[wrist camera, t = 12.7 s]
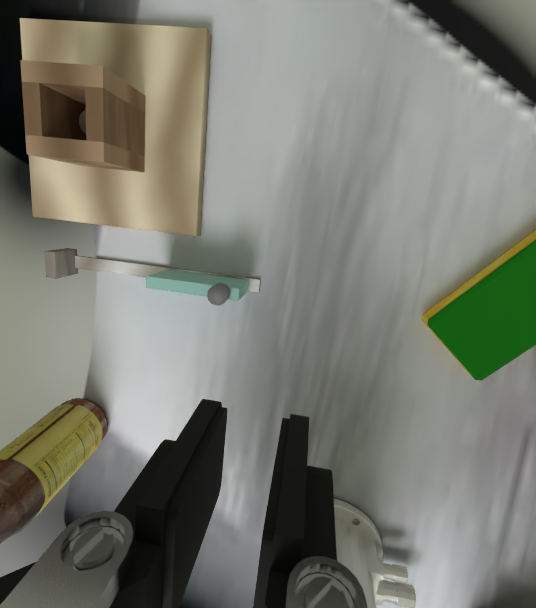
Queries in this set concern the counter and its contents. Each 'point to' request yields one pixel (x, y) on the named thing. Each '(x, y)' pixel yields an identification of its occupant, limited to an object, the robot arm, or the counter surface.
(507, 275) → the dish sponge
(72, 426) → the sauce bottle
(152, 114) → the seat
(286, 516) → the robot arm
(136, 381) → the counter surface
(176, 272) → the bar
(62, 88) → the block
